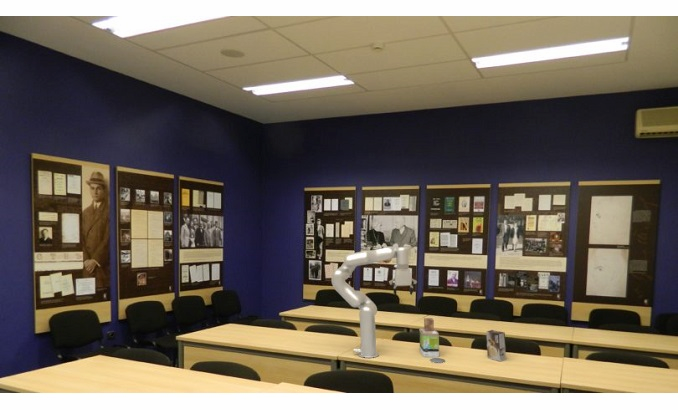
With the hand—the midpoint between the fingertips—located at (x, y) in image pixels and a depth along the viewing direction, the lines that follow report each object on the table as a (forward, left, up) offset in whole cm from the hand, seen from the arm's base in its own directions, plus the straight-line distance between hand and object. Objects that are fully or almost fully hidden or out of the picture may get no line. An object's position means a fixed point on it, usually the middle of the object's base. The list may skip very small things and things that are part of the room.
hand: (403, 294), depth 272 cm
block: (+17, +6, -24) cm, 30 cm away
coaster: (+18, -9, -38) cm, 43 cm away
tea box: (+16, +6, -39) cm, 42 cm away
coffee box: (+54, -8, -38) cm, 67 cm away
